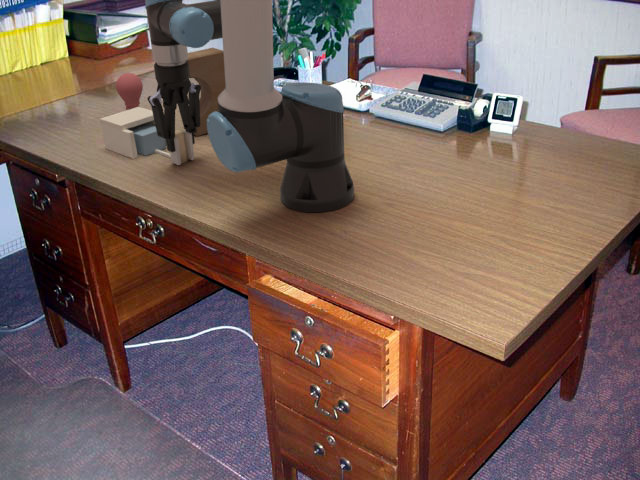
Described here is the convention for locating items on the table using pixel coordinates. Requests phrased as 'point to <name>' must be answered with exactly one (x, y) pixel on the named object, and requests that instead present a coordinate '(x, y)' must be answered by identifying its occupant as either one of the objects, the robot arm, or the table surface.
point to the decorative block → (207, 81)
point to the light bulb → (129, 89)
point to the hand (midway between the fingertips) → (183, 160)
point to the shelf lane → (125, 130)
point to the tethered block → (157, 142)
